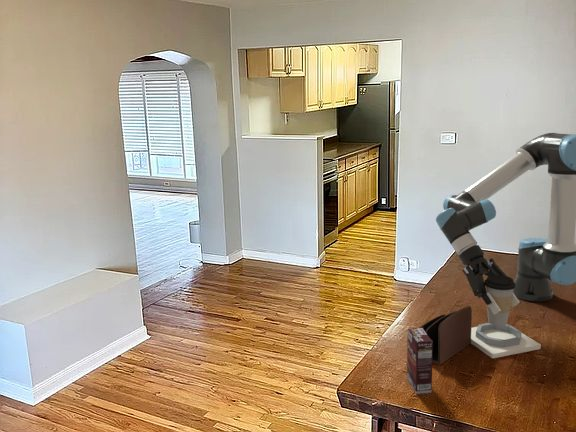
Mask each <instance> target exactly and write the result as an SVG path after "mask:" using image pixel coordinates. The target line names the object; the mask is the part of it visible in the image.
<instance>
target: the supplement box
mask: <svg viewBox="0 0 576 432" xmlns="http://www.w3.org/2000/svg"><path fill="white" fill-rule="evenodd" d="M406 335H407V336H406V337H407V338H406V339H407V340H406V341H407V343H406V344H407V345H406V346H407V349H406V352H407V354H406V379H407V380H408V382H409V383H410V384H409V385H411V387H412V389H413V390H414V393H415V395H418V394H419V395H420V394H430V393H431V394H432V389H433V386H432V385H433V363H432V356H433V341H432V340H431V339H430V338H429V336H428V335H427V334H426V332H425V331H424V329H423V328H420V327H415V328H414V327H413V328H407V334H406Z"/></svg>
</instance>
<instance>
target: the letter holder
mask: <svg viewBox="0 0 576 432" xmlns="http://www.w3.org/2000/svg"><path fill="white" fill-rule="evenodd" d="M472 313H473V310H472V307H471V306H469V305H468V306H466V307H463V308H461V309H458V310H455V311H452V312H450V313H448V314H441V315H438V316H435V317H434V318H432V319H430V320H429V321H427V322H426V323H424V324H423V325H421V326H420V327H419V328H423V329H424V331H425V332H426V334H427V335H428V336H429V338H430V339H431V340H432V341H433V356H432V364H435V365H438V366H441V365H442V364H443V363H444V362H447V360H449V359H450V358H452V357H454V356H455V355H456V354H458V353H460V351H462V350H463V349H465V348H466V347H467V346H470V344H471V328H472V322H473V321H472Z"/></svg>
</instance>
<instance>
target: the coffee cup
mask: <svg viewBox="0 0 576 432" xmlns="http://www.w3.org/2000/svg"><path fill="white" fill-rule="evenodd" d="M507 276H508V275H507ZM507 276H503V275H491V276H486V277H487V278H486V279H484V283H485V287H486V291H487V293H490V294H491V296H492V297H493V299H494V300H495V302H496V303H497V305H498V306H499V308H500V309H501V311H499V312H498V313H496V314H493V313H492V311H491V309H490V308H489V306H488V305H487V304H486V309H487V323H490V324H492V325H495V326H505V325H506V324H507V325H508V320H509V314H510V311H511V307H512V305H511V303H512V297H513V289H514V288H515V287H516V286H515V283H514V279H513V278H512V277H510V276H508V277H507ZM487 293H486V294H487Z"/></svg>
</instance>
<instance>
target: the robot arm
mask: <svg viewBox="0 0 576 432" xmlns="http://www.w3.org/2000/svg"><path fill="white" fill-rule="evenodd" d="M545 165H547V174H548V175H549V176H550V177H551V189H550V206H549V218H548V219H549V220H548V235H547V236H548V237H547V238H543V237H532V238H531V237H530V238H529V237H528V238H523V239H521V240H520V241H519V245H518V254H517V269H516V270H517V272H516V276H515V279H514V280H513V282H514V283H515V286H516V287H515V288H514V289H513V297H512V303H511V307H513V308H514V307H515V306H517V305H518V304H520V300H524V301H529V302H538V303H539V302H541V303H542V302H547V301H550V300H552V299H553V295H554V290H553V288H552V284H551V281H552V282H553V283H556V284H559V285H562V286H569V285H572V284H574V283H576V243H575V239H576V238H575V235H576V134H572V133H571V134H570V133H569V134H568V133H558V132H546V133H544V134H541V135H538V136H536V137H534V138H532V139H531V140H529V141H528V142H525V143H524V144H523V145H521V146H520V147H519V148H517V149H516V150H515V153H514V155H512V156H511V157H509V158H508V159H506V160H505V161H503V162H502V163H501V164H499V165H498V166H497V167H495V168H494V169H492V170H491V171H490V172H489V173H487V174H485V175H484V176H483V177H481V178H480V179H478V180H477V181H475V182H474V183H473V184H471V185H470V186H469V187H467V188H466V189H464V190H462V191H461V192H460V193H459V194H457V195H456V194H451V195H448V196H447V197H446V198H445V199H444V200H443V203H442V208H443V209H444V210H442V211H441V212H439V213H438V214H437V216H436V217H435V222H436V223H437V226H438V227H439V230H440V231H441V232H442V234H443V235H444V236H445V238H446V240H447V241H448V243H449V244H450V246H451V247H452V249H453V250H454V251H455V253H456V255H459V259H460V261H461V262H462V264H463V265H465V267H464V268H463V269H461V270H462V272H463V274H464V275H465V276H466V278H467V281H468V284H469V286H470V288H471V291H472V293H473V295H474V296H475V297H477V298H482V300H483V301H484V303H485V304H486V306H487V305H488V306H489V308H490V309H491V311H492V313H493V314H496V313H498V312H499V311H501V309H500V308H499V306H498V305H497V303H496V302H495V300H494V299H493V297H492V296H491V294H490V293H487V290H486V286H485V283H484V282H485V279H484V276H486V277H488V276H491V275H503V276H507V277H509V275H506V273H505V272H504V271H503V270H502V269H501V268H500V267H499V266H498V264H496V262H495V259H493V257H491V258H489V259H486V258H485V257H484V255H485V252H484V251H483V249H482V248H481V247H480V245H479V244H478V241H476V239H475V238H474V236H473V235H472V233H471V232H470V231H471V230H473V229H475V228H478V227H480V226H482V225H484V224H487V223H489V222H490V221H492V220H493V219H495V218H496V216H497V211H496V207H495V205H494V203H493V202H491V200H489V199H490V198H491V197H492V196H494V195H496V194H497V193H498V192H499V191H502V189H504V188H505V187H507V186H509V185H510V184H511V183H513V182H514V181H515V180H517V179H518V178H519V177H520V176H522V175H524V174H525V173H527V172H528V171H534V170H536V169H537V168H539V167H541V166H545ZM486 293H487V294H486ZM519 299H520V300H519Z"/></svg>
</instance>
